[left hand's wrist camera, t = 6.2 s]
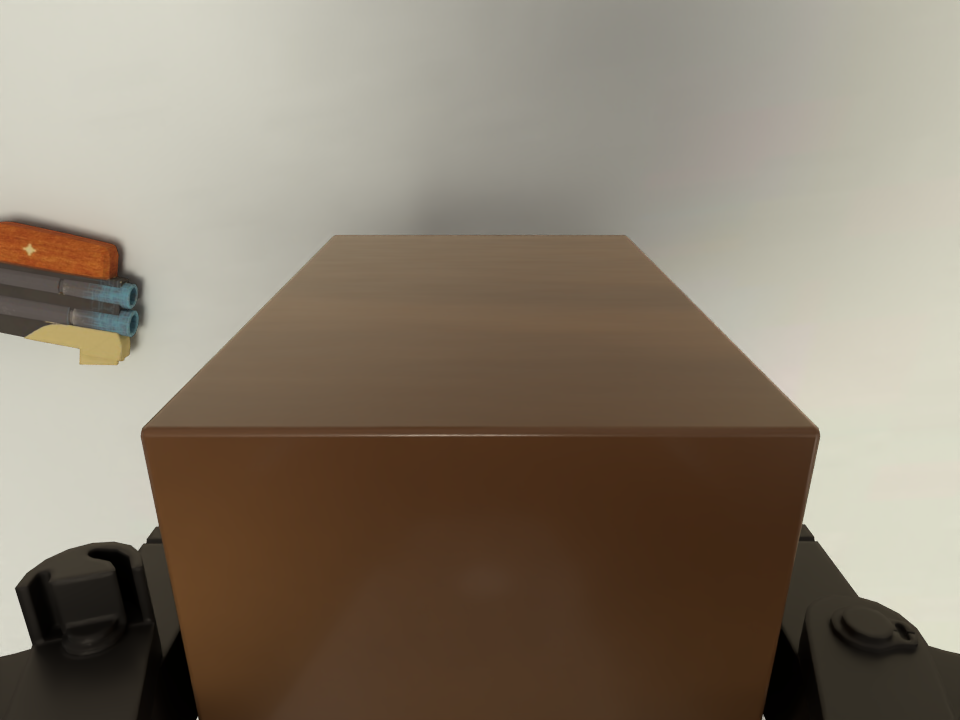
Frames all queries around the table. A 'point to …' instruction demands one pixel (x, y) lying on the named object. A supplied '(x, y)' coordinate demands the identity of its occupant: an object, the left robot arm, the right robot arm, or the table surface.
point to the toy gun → (65, 292)
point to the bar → (480, 493)
